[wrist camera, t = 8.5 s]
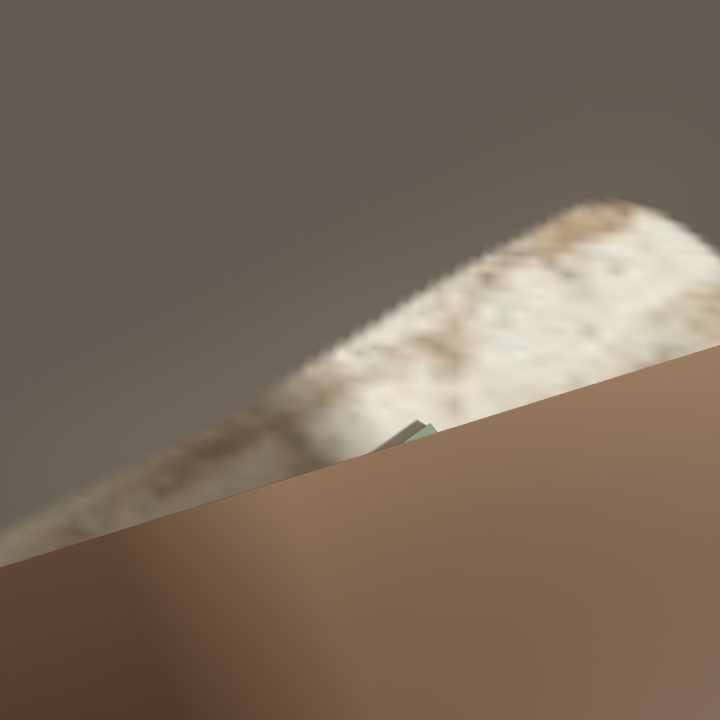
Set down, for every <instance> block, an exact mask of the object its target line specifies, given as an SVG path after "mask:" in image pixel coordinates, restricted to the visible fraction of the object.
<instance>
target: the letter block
mask: <svg viewBox="0 0 720 720" xmlns="http://www.w3.org/2000/svg"><path fill="white" fill-rule="evenodd" d="M0 720H720V345H719V346H716V347H712V348H709V349H706V350H703V351H699V352H696V353H693V354H690V355H687V356H683V357H680V358H677V359H674V360H670V361H667V362H664V363H661V364H657V365H654V366H651V367H648V368H644V369H641V370H638V371H635V372H632V373H628V374H625V375H622V376H619V377H615V378H612V379H609V380H606V381H602V382H599V383H596V384H593V385H590V386H586V387H583V388H580V389H577V390H573V391H570V392H567V393H564V394H560V395H557V396H554V397H551V398H547V399H544V400H541V401H538V402H535V403H531V404H528V405H525V406H522V407H518V408H515V409H512V410H509V411H505V412H502V413H499V414H496V415H493V416H489V417H486V418H483V419H480V420H476V421H473V422H470V423H467V424H463V425H460V426H457V427H454V428H451V429H447V430H444V431H441V432H438V433H434V434H431V435H428V436H425V437H421V438H418V439H415V440H412V441H408V442H405V443H402V444H399V445H396V446H392V447H389V448H386V449H383V450H379V451H376V452H373V453H370V454H366V455H363V456H360V457H357V458H354V459H350V460H347V461H344V462H341V463H337V464H334V465H331V466H328V467H324V468H321V469H318V470H315V471H311V472H308V473H305V474H302V475H299V476H295V477H292V478H289V479H286V480H282V481H279V482H276V483H273V484H269V485H266V486H263V487H260V488H257V489H253V490H250V491H247V492H244V493H240V494H237V495H234V496H231V497H227V498H224V499H221V500H218V501H214V502H211V503H208V504H205V505H202V506H198V507H195V508H192V509H189V510H185V511H182V512H179V513H176V514H172V515H169V516H166V517H163V518H160V519H156V520H153V521H150V522H147V523H143V524H140V525H137V526H134V527H130V528H127V529H124V530H121V531H118V532H114V533H111V534H108V535H105V536H101V537H98V538H95V539H92V540H88V541H85V542H82V543H79V544H75V545H72V546H69V547H66V548H63V549H59V550H56V551H53V552H50V553H46V554H43V555H40V556H37V557H33V558H30V559H27V560H24V561H21V562H17V563H14V564H11V565H8V566H4V567H1V568H0Z"/></svg>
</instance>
